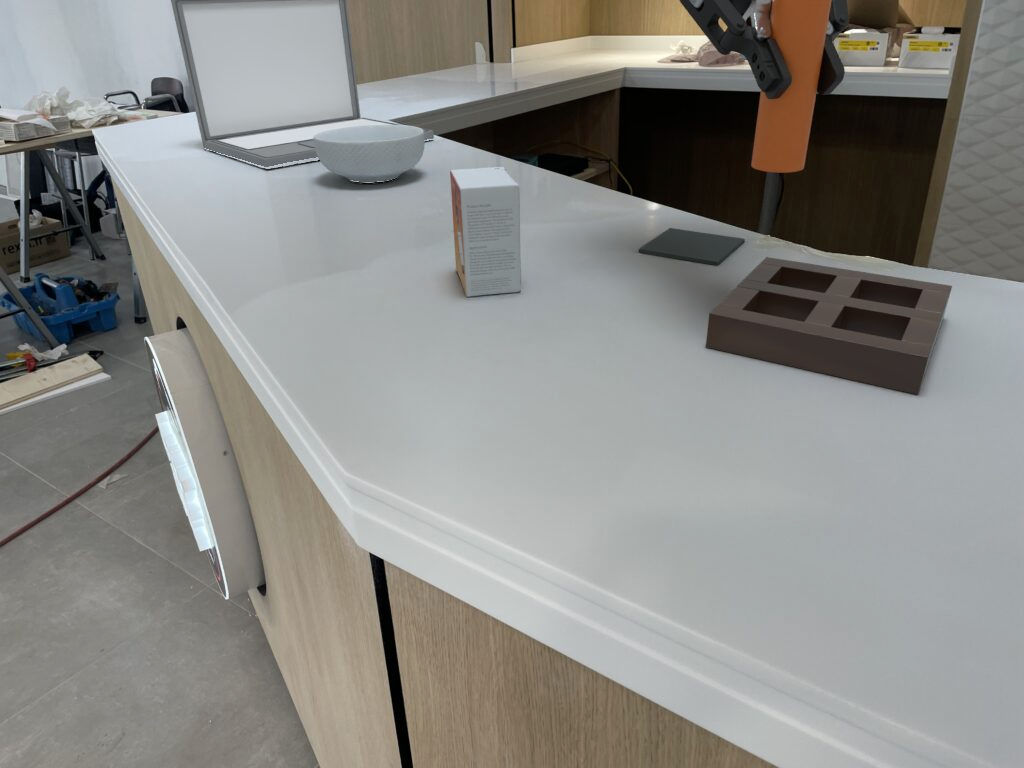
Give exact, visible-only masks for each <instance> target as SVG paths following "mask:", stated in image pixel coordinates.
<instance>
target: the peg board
mask: <svg viewBox="0 0 1024 768" xmlns="http://www.w3.org/2000/svg"><path fill="white" fill-rule="evenodd" d="M952 289H953V285H949V284H944V283H943V284H942V283H937V282H931V281H930V282H929V281H924V280H917V279H911V278H905V277H898V276H891V275H885V274H879V273H873V272H872V273H871V272H866V271H859V270H852V269H848V268H847V269H846V268H840V267H834V266H826V265H821V264H814V263H809V262H801V261H795V260H788V259H782V258H776V257H769V256H765V257H764V259H763V260H761V262H760V263H758V265H757V266H756V267H755V268H754V269H753V270H752V271H751V272H750V273H748V274H747V276H745V278H743V280H742V281H741V282H739V283H738V284H737V285H736V287H735V288H733V290H731V291H730V292H729V293H728V294H727V295H726V296H725V298H724V299H723V300H721V301H720V302H719V303H718V305H716V306H715V307H714V308H713V309H712V310H711V311H710V312H709V313H708V321H707V331H706V338H705V339H706V341H705V348H708V349H713V350H717V351H722V352H725V353H731V354H735V355H738V356H743V357H748V358H752V359H757V360H761V361H766V362H770V363H775V364H779V365H783V366H788V367H793V368H797V369H802V370H806V371H810V372H815V373H820V374H823V375H829V376H832V377H837V378H842V379H846V380H851V381H854V382H859V383H862V384H863V383H864V384H868V385H873V386H878V387H883V388H887V389H890V390H895V391H900V392H904V393H909V394H913V395H917V396H918V395H919V394H920V390H921V388H922V384H923V381H924V378H925V375H926V372H927V369H928V367H929V363H930V360H931V357H932V353H933V352H934V348H935V345H936V342H937V339H938V336H939V333H940V330H941V327H942V324H943V320H944V318H945V315H946V310H947V307H948V303H949V299H950V296H951V292H952Z"/></svg>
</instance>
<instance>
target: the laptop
mask: <svg viewBox="0 0 1024 768" xmlns="http://www.w3.org/2000/svg"><path fill="white" fill-rule="evenodd" d="M347 1H348V0H170V3H171V7H172V12H173V16H174V21H175V25H176V29H177V34H178V40H179V43H180V48H181V53H182V56H183V61H184V67H185V70H186V75H187V79H188V84H189V88H190V93H191V99H192V102H193V106H194V110H195V115H196V120H197V125H198V129H199V134H200V137H201V143H202V147H203V149H204V148H206V149H209V150H212V151H215V152H218V153H221V154H225V155H228V156H232V157H235V158H238V159H242V160H245V161H248V162H251V163H254V164H257V165H261V166H264V167H269V166H274V165H278V164H283V163H287V162H293V161H299V160H304V159H309V158H316V157H318V156H317V154H316V150H315V145H314V135H316V134H318V133H321V132H324V131H328V130H333V129H339V128H346V127H354V126H365V125H401V124H399V123H394V122H388V121H383V120H379V119H378V120H377V119H373V118H366V117H361V109H360V101H359V92H358V86H357V85H358V83H357V76H356V75H357V74H356V68H355V60H354V51H353V43H352V42H353V41H352V35H351V25H350V17H349V9H348V2H347ZM420 128H421V127H420ZM421 129H423V131H424V138H425V139H424V140H427V139H433V138H434V139H435V132H434V130H432V129H427V128H421Z"/></svg>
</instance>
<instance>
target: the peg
mask: <svg viewBox="0 0 1024 768" xmlns="http://www.w3.org/2000/svg"><path fill="white" fill-rule="evenodd" d="M831 1H832V0H773V2H772V9H771V17H770V26H771V35H770V37H769V38H768V39H776V41H777V43H778V46H779V48H780V50H781V53H782V55H783V57H784V60H785V62H786V64H787V67H788V69H789V71H790V74H791V76H792V82H791V84H790V86H789V87H788V88H787V90H786V91H785V92H784V93H783V94H782V95H781V97H780V98H778V99H768V98H767V97H766V95H765V92H762V90H761V89H760V95H759V101H758V111H757V117H756V125H755V133H754V140H753V148H752V154H751V162H750V165H751V168H752V169H754V170H757V171H761V172H766V173H781V174H783V173H795V172H796V173H797V172H800V171H803V170H804V169H805V166H806V165H805V164H806V158H807V151H808V146H809V141H810V140H809V139H810V134H811V127H812V122H813V115H814V109H815V103H816V97H817V86H818V80H819V74H820V68H821V62H822V56H823V50H824V43H825V37H826V31H827V25H828V19H829V13H830V7H831Z"/></svg>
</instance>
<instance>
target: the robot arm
mask: <svg viewBox="0 0 1024 768" xmlns="http://www.w3.org/2000/svg"><path fill="white" fill-rule="evenodd" d="M679 2H680V4H681V5H682V7H683V8H684V9H685V10H686V13H688V14H689V16H690V17H691V18H692V19H693V21H694V22H695V24H697V26H698V28H699V29H700V30H701V31H702V33H703V34H704V35H705V36H706V38H707V39H708V40H709V42H710V43H711V44H712V45H713V47H714V48H715V50H716V51H717V52H718V53H719V54H720V55H723V56H728V55H731V53H732V52H734V53H738V54H739V56H740V58H741V59H742V60H744V61H747V63H748V64H749V67H750V70H751V72H752V75H753V77H754V79H755V82H756V84H757V87H758V88H759V90H760V91H761V90H762V92H765V95H766V97H767V98H768V99H778V98H780V97H781V95H782V94H783V93H784V92H785V91H786V90H787V88H788V87H789V86H790V84H791V82H792V76H791V74H790V71H789V69H788V67H787V64H786V62H785V60H784V57H783V55H782V53H781V50H780V48H779V46H778V43H777V41H776V39H768V38H769V37H770V35H771V26H770V17H771V9H772V2H773V0H679ZM720 19H721V20H722V22H723V23H724V25H725V26H726V27H727V28H726V29H725V30H724V29H723V28H722V26H721V25H720V22H719V20H720ZM849 24H850V15H849V8H848V0H832V1H831V7H830V13H829V19H828V25H827V31H826V37H825V43H824V50H823V56H822V62H821V68H820V74H819V80H818V86H817V92H816V94H818V95H819V96H826V95H831V94H832V92H834V90H836V89H837V87H839V85H840V84H841V83H842V82H843V80H844V77H845V74H846V71H845V65H844V64H843V62H842V59H841V57H840V55H839V52H838V50H837V49H836V46H835V44H834V41H835V40H836V39H837V37H838V36H839V35H840V34H841V33H842V32H843V31H844V30H845V29H846V28H847V27H848V26H849Z"/></svg>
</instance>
